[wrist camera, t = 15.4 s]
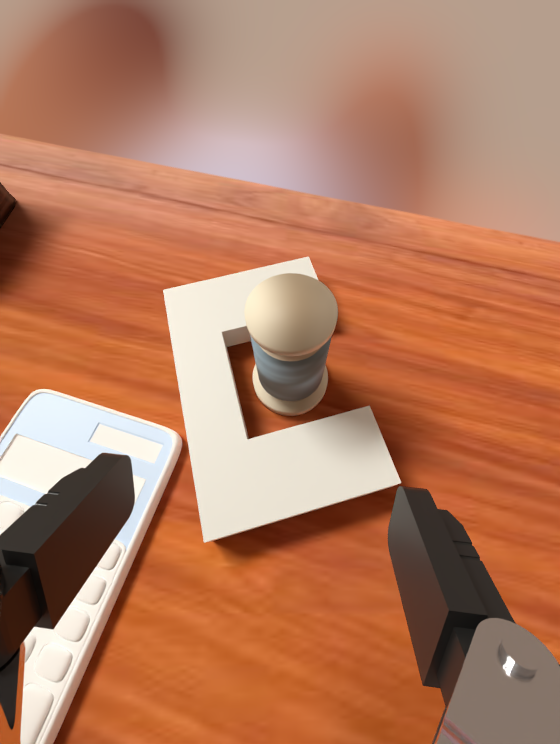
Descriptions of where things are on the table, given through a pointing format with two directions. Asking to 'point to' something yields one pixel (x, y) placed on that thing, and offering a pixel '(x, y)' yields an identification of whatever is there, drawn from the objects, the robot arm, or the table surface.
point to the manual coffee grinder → (5, 204)
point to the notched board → (267, 452)
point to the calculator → (99, 593)
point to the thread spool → (290, 341)
